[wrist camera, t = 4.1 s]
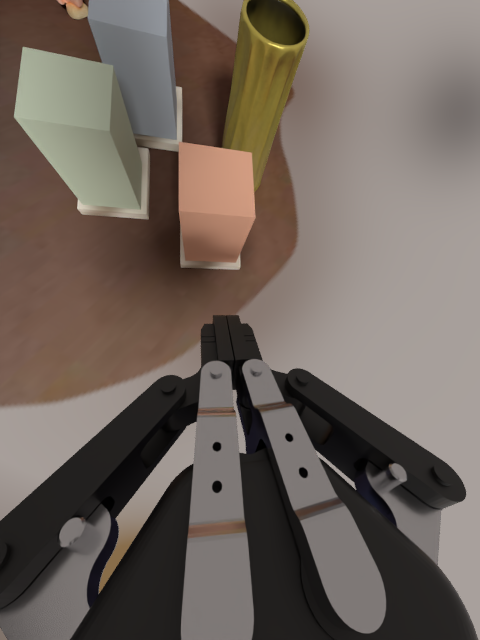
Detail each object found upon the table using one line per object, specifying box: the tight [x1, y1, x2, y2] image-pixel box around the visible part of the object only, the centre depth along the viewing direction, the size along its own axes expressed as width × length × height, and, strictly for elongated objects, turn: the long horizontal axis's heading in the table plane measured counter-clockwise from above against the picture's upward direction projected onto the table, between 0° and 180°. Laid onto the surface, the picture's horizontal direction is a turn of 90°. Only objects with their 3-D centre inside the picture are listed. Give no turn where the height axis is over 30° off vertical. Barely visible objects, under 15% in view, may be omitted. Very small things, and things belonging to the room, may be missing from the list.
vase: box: [222, 0, 309, 192], centre depth 22 cm, size 6×6×14 cm
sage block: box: [14, 47, 142, 210], centre depth 20 cm, size 6×6×9 cm
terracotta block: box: [179, 142, 255, 263], centre depth 21 cm, size 6×6×9 cm
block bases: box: [77, 86, 241, 270], centre depth 27 cm, size 18×25×1 cm
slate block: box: [88, 0, 177, 140], centre depth 22 cm, size 6×6×9 cm
